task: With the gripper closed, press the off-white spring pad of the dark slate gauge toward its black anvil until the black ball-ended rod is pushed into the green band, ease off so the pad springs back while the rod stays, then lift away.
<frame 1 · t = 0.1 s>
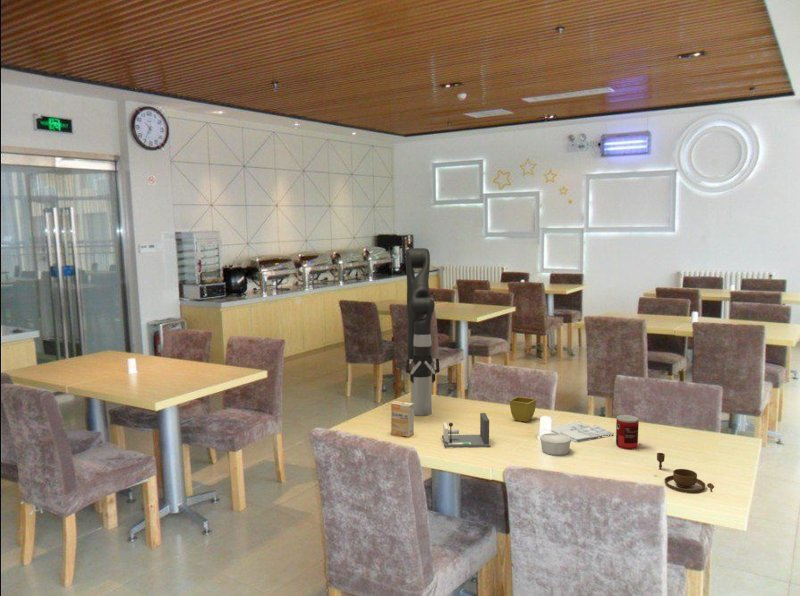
hand: (422, 382, 275), 17 cm above the table, tool pointing down, fingers open, 8 cm apart
spring pad: (451, 432, 249), point 4 cm above the table, slide at 0.0 cm
place setting: (683, 483, 210), on the table
flower pot: (522, 420, 278), on the table
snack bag: (578, 433, 261), on the table
canned food: (626, 446, 243), on the table
ramekin: (555, 451, 239), on the table
black ball-ended rod: (450, 432, 244), point 6 cm above the table, slide at 0.0 cm
supplement box: (402, 435, 260), on the table
gauge frame: (462, 442, 250), on the table
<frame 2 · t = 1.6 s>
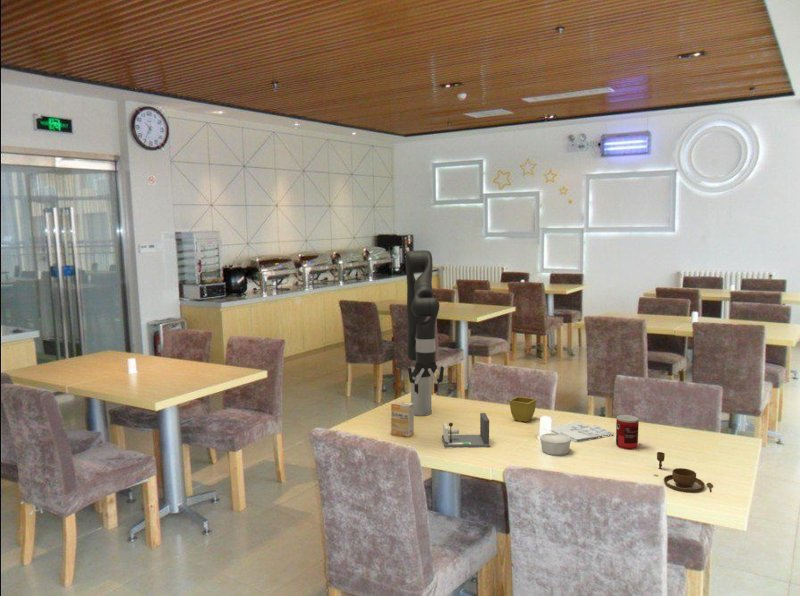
hand: (426, 392, 247), 20 cm above the table, tool pointing down, fingers open, 6 cm apart
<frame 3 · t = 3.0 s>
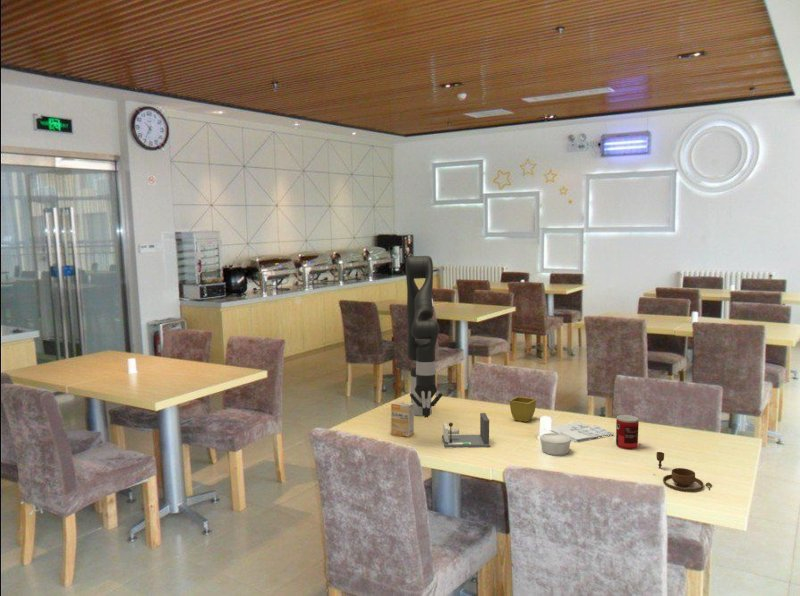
hand: (426, 416, 248), 10 cm above the table, tool pointing down, fingers closed
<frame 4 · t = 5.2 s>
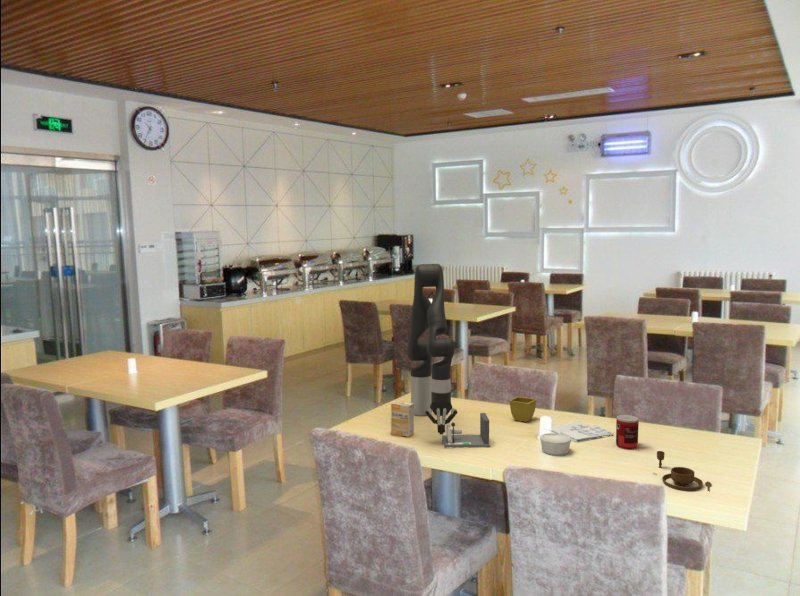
hand: (441, 433, 249), 4 cm above the table, tool pointing down, fingers closed
spring pad: (454, 432, 249), point 4 cm above the table, slide at 1.2 cm, touching gripper, black ball-ended rod
black ball-ended rod: (453, 432, 244), point 6 cm above the table, slide at 0.9 cm, touching spring pad
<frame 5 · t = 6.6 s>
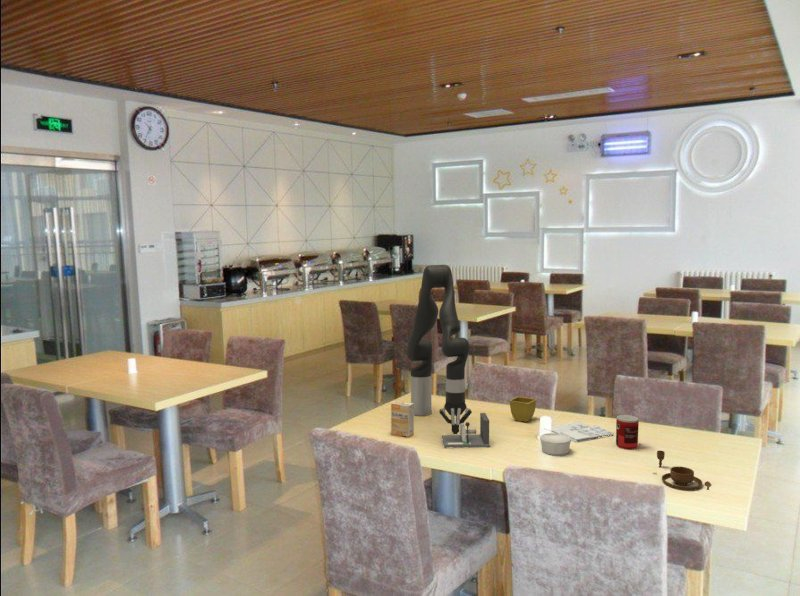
hand: (455, 433, 249), 4 cm above the table, tool pointing down, fingers closed
spring pad: (468, 432, 249), point 4 cm above the table, slide at 6.6 cm, touching gripper, black ball-ended rod
black ball-ended rod: (467, 432, 244), point 6 cm above the table, slide at 6.3 cm, touching spring pad
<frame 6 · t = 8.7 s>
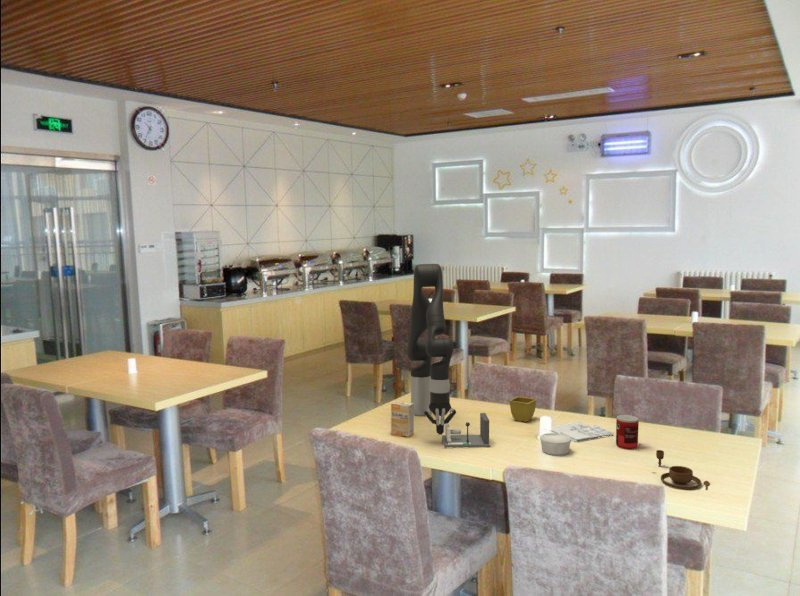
hand: (440, 433, 249), 3 cm above the table, tool pointing down, fingers closed
spring pad: (453, 432, 249), point 4 cm above the table, slide at 0.8 cm
black ball-ended rod: (467, 432, 244), point 6 cm above the table, slide at 6.4 cm
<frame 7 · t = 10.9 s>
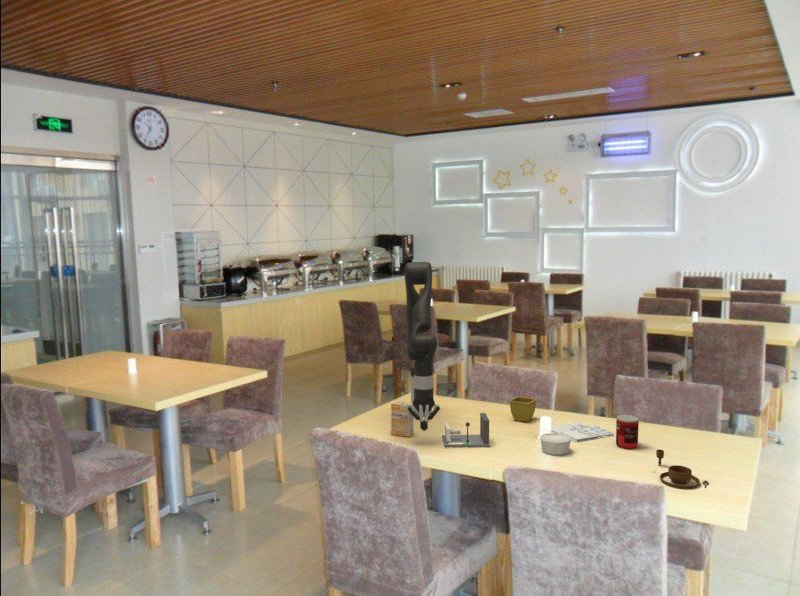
hand: (423, 430, 249), 5 cm above the table, tool pointing down, fingers closed
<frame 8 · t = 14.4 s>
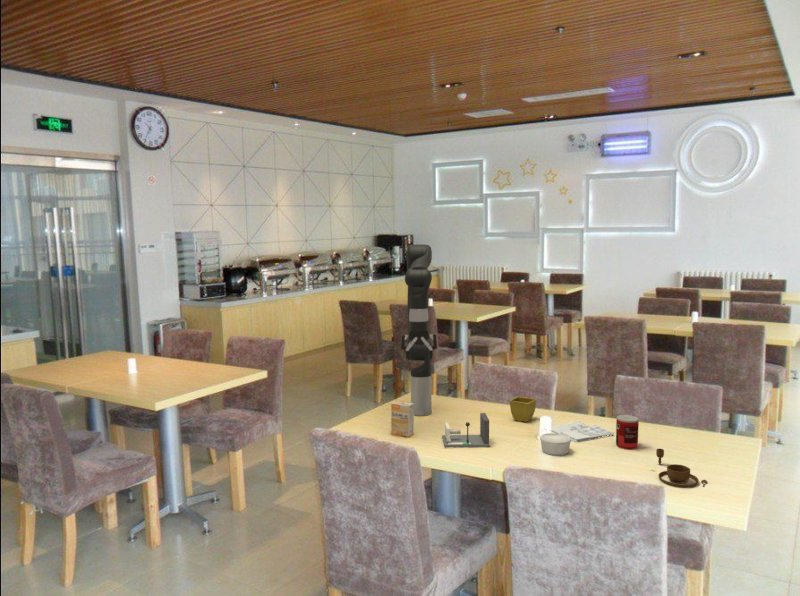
hand: (419, 359, 259), 30 cm above the table, tool pointing down, fingers open, 8 cm apart
at the end: black ball-ended rod slide at 6.4 cm; spring pad slide at 0.7 cm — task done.
